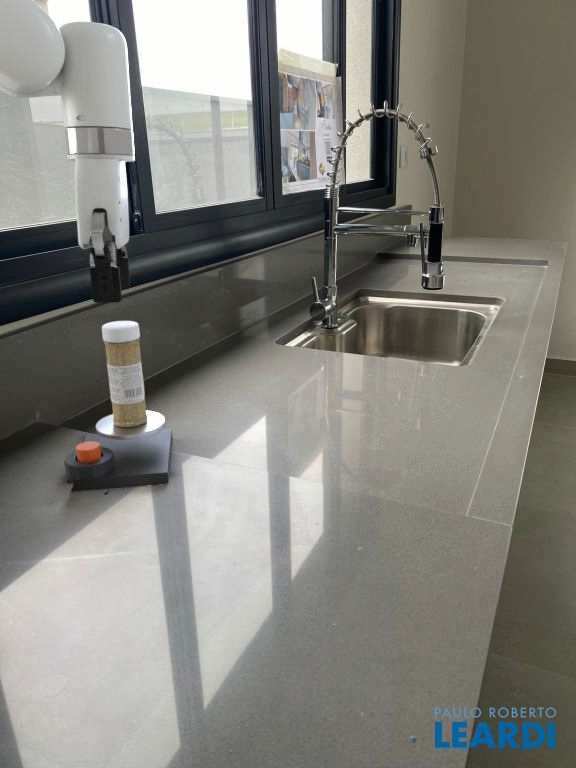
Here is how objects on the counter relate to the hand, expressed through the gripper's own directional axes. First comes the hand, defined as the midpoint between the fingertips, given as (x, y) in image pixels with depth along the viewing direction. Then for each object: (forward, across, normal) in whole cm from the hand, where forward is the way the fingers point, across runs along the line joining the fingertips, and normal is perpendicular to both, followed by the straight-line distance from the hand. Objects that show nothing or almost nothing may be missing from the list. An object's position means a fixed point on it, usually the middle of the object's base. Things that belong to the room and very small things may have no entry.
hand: (113, 295), depth 75 cm
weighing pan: (+19, 0, +1) cm, 19 cm away
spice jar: (+17, 0, +1) cm, 17 cm away
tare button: (+19, +6, -4) cm, 21 cm away
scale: (+22, +2, 0) cm, 22 cm away
